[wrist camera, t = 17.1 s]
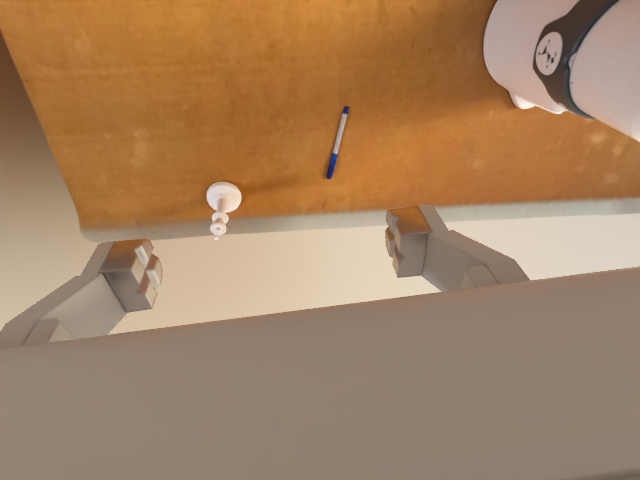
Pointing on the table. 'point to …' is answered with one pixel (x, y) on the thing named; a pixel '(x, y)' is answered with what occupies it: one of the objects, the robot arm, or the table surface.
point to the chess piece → (222, 204)
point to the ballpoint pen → (337, 143)
